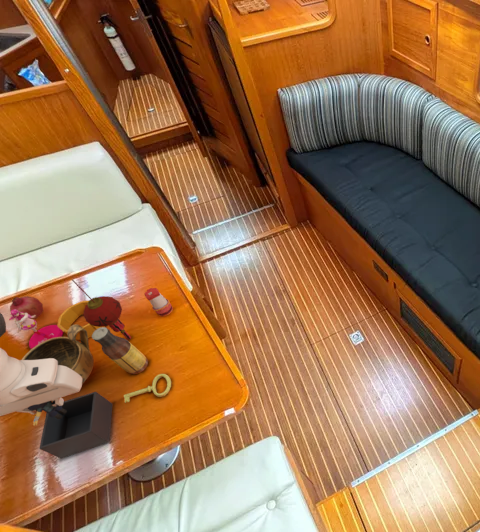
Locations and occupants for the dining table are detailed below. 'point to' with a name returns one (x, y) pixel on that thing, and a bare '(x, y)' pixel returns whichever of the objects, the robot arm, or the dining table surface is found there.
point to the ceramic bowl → (66, 351)
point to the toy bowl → (72, 315)
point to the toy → (158, 302)
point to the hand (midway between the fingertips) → (49, 407)
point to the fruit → (27, 306)
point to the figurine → (38, 335)
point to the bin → (78, 426)
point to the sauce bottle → (120, 351)
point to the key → (151, 388)
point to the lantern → (104, 313)
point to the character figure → (46, 410)
